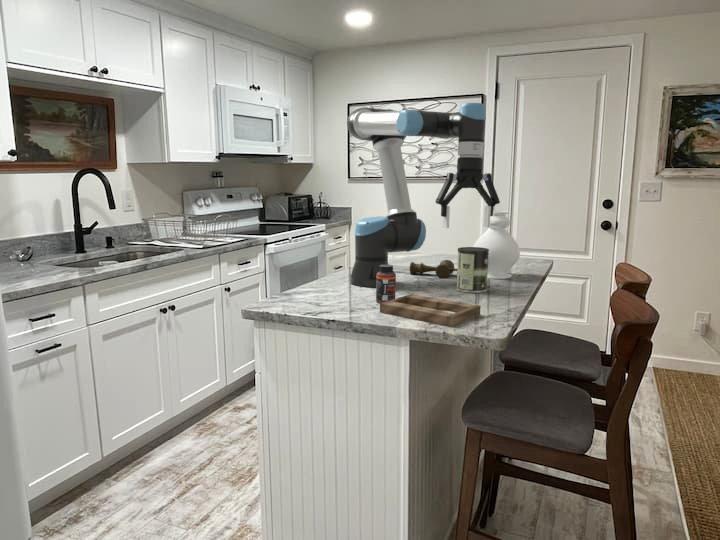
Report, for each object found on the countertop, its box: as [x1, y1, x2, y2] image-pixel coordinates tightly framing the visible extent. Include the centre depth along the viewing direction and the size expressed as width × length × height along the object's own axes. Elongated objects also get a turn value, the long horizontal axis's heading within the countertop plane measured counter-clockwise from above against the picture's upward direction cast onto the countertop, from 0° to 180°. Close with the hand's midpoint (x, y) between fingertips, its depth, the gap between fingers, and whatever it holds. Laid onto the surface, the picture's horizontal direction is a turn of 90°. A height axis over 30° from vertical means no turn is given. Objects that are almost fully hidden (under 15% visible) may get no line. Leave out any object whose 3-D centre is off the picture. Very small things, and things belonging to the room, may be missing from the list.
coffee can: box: [456, 246, 489, 294], centre depth 178 cm, size 10×10×14 cm
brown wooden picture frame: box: [379, 293, 482, 327], centre depth 148 cm, size 23×16×2 cm
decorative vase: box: [472, 210, 521, 280], centre depth 203 cm, size 18×18×25 cm
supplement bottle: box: [375, 264, 397, 304], centre depth 161 cm, size 6×6×11 cm
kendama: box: [409, 259, 458, 279], centre depth 205 cm, size 6×10×20 cm
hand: (466, 227), depth 163 cm, fingers open, 13 cm apart
